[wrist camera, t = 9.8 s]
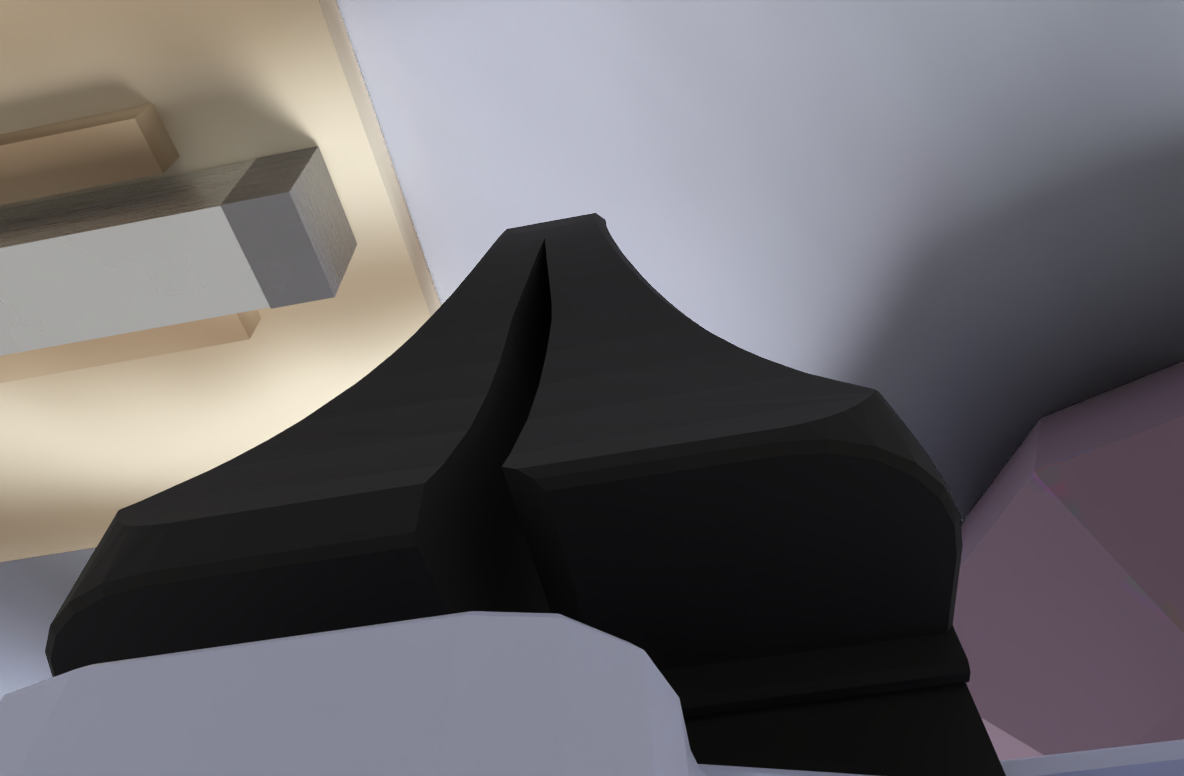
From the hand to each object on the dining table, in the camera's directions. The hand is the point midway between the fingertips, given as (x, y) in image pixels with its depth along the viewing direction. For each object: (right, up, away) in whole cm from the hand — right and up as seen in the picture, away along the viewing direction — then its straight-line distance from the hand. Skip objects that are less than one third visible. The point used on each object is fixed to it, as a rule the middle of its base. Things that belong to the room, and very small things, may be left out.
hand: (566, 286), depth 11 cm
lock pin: (-10, +1, +5) cm, 11 cm away
